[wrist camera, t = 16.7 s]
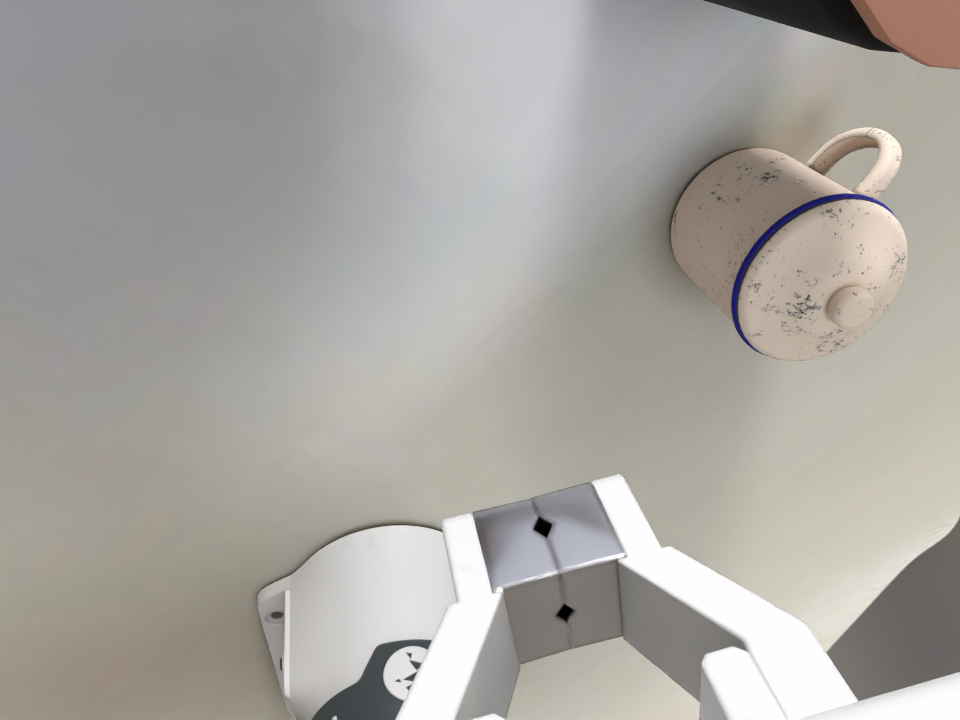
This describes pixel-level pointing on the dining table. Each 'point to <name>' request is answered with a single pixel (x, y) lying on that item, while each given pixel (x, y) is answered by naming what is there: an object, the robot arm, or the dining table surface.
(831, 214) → the teacup with lid
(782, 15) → the coffee jar
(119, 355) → the dining table surface
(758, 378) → the dining table surface
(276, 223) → the dining table surface
